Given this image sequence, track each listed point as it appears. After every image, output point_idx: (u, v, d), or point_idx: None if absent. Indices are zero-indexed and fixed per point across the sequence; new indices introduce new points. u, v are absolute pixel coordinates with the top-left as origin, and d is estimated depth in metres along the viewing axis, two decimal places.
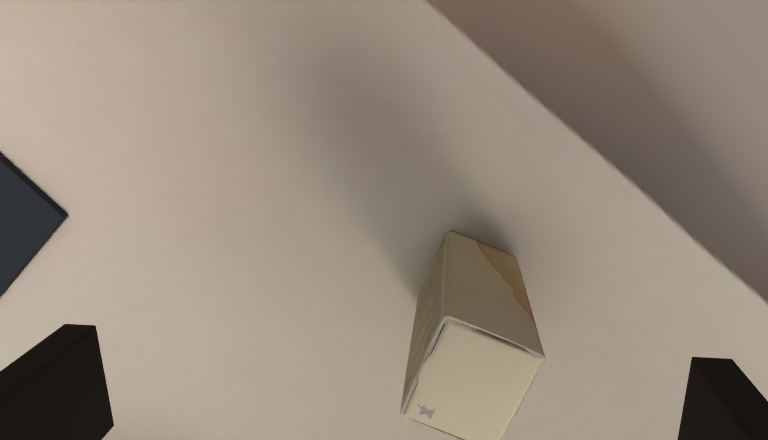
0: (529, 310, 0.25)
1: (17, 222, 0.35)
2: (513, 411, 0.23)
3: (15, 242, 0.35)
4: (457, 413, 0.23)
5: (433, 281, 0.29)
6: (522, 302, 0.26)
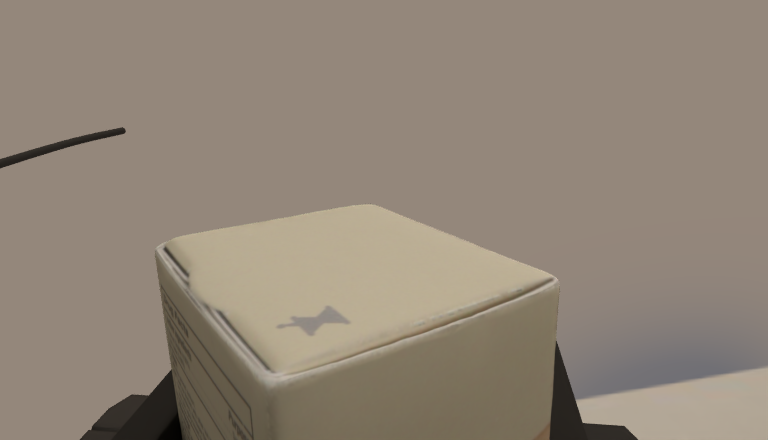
0: None
1: None
2: (453, 237, 0.09)
3: None
4: (383, 281, 0.07)
5: None
6: None
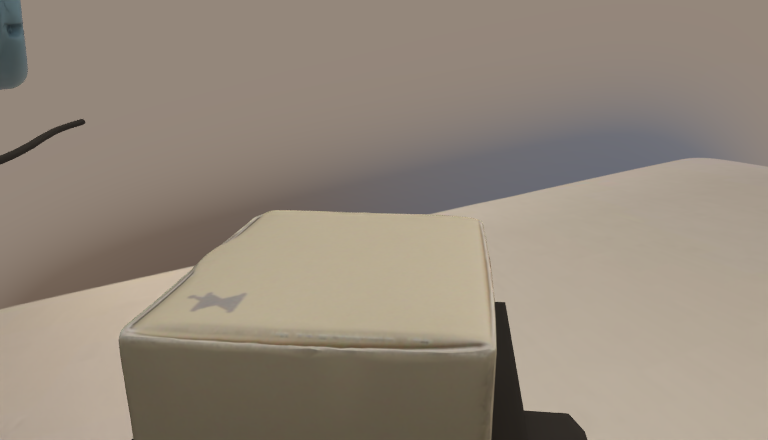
0: None
1: None
2: (477, 270, 0.08)
3: None
4: (321, 288, 0.07)
5: None
6: None
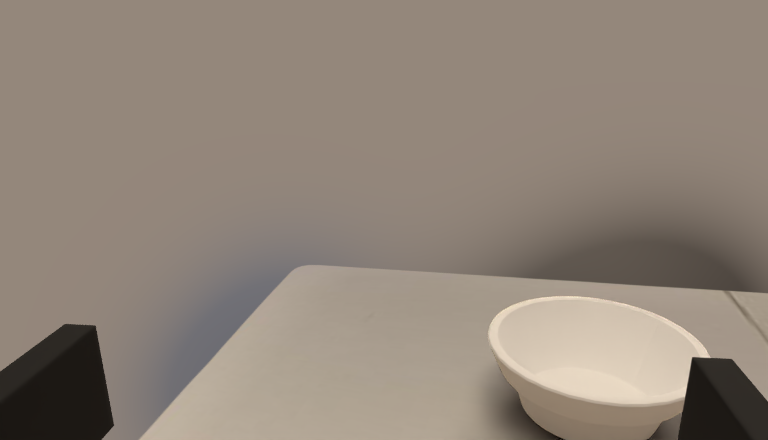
0: None
1: None
2: None
3: None
4: None
5: None
6: None
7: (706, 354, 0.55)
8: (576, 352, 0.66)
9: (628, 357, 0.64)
